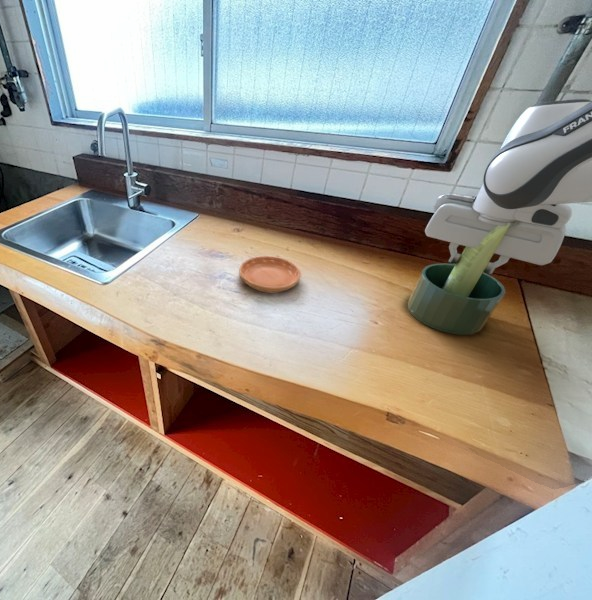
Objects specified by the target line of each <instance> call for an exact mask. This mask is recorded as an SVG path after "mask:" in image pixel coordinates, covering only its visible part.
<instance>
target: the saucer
mask: <svg viewBox="0 0 592 600" xmlns="http://www.w3.org/2000/svg"><path fill="white" fill-rule="evenodd" d="M238 273H239V276H240V278H241V280H242V281H243V282H244V283H245V284H247V285H248V286H249V287H251V288H252V289H254V290H257V291H259V292H264V293H271V294H272V293H273V294H274V293H280V292H285V291H287V290H290V289H291V288H293V287H295V286H296V285H297V284H298V283H299V282H300V280H301V277H302V272H301V270H300V268H299V267H298V266H297V265H296V264H295V263H293V262H292V261H289V260H287V259H285V258H282V257H277V256H270V255H259V256H254V257H250V258H248V259H246V260H244V261H243V262H242V263H241V264H240V266H239V269H238Z"/></svg>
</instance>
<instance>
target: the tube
mask: <svg viewBox="0 0 592 600" xmlns="http://www.w3.org/2000/svg"><path fill="white" fill-rule="evenodd" d="M509 226H510V223H509V222H508V223H507V225H506V226H499V225H498V226H497V227H495V228H494V229H492V230H491V231H490V233H489V234H488V235H487V236H486V237H485V238H484V239H483V240H482V242H481V243H480V244H479V245H478V246H477V247H476V248H471V247H467V246H465V247H464V248H463V251H462V252H461V253H460V254H461V256H460V258H459V260H458V262H457V264H456V265H455V267H454V268H453V270H452V272H451V274H450V275H449V277H448V279H447V281H446V282H445V284H444V286H443V288H442V289H443V290H445V291H447V292H450V293H453V294H456V295H460V296H464V297H468V296H469V295H470V293H471V291H472V290H473V288H474V286H475V285H476V283H477V281H478V280H479V278H480V276H481V275H482V273H483V271H484V269H485V268H486V266H487V264H488V263H489V262H490V261H491V259H492V258H493V256H494V255H495V254H494V251H495V250H496V248H497V247H498V245H499V243H500V242H501V240H502V238H503V236H504V235H505V233H506V231H507V229H508V227H509Z"/></svg>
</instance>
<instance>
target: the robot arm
mask: <svg viewBox="0 0 592 600" xmlns="http://www.w3.org/2000/svg"><path fill="white" fill-rule="evenodd" d="M482 182H483V183H482V184H481V187H480V189H479V191H478V193H477V195H476V196H473V195H467V194H458V193H456V192H448V193H447V194H446V193H445V194H442V195H440V196H438V198H437V199H436V201H435V203H434V205H433V211H434V212H433V213H434V214H433V215H432V216H431V218H430V219H429V221H428V223H427V225H426V226H425V229H424V233H425V236H426V237H429V238H431V239H437V240H440V241H443V242H447V243H449V246H448V250H449V253H450V257H449V259H448V263H449V264H457V262H458V260H459V258H460V256H461V254H462V253H459V252H458V250H457V249H458V247H459V246H463V247H466V246H467V247H471V248H476V247H477V246H478V245H479V244H480V243H481V242H482V240H483V239H484V238H485V237H486V236H487V235H488V234H489V233H490V231H491V230H492V229H494V228H495V227H497V226H498V225H499V226H506V225H507V223H508V222H509V223H510V226H509V227H508V229H507V231H506V233H505V235H504V236H503V238H502V240H501V242H500V243H499V245H498V247H497V248H496V250H495V251H494V254H493V255H499V258H498V260H496V261H494V262H490V261H489V263H488V264H487V266H486V268H485V269H484V271H483V272H484V273H486V274H488V275H492V274H493V273H494V271H495V270H496V268H498V267H501V266H503V265H505V264H506V263H507V264H508V262H509V260H510V259H514V260H519V261H523V262H527V263H530V264H534V265H538V266H545V265H548V264H551V263H552V262H553V260H554V259H555V258H556V256H557V254H558V252H559V250H560V248H561V247H562V244H563V241H564V238H565V235H566V230H567V227H566V224H567V223H568V222H569V221H570V220H571V218H572V214H573V210H572V208H571V207H570V206H569V205H568V204H577V203H592V100H590V99H585V98H576V99H575V98H573V99H566V100H551V101H542V102H538V103H535V104H534V105H531V106H529V107H527V108H526V109H525V110H524V111H523V112H522V113H521V114H520V116H519V117H518V118H517V119H516V121H515V123H514V124H513V125H512V127H511V128H510V129H509V132H508V134H507V136H506V137H505V139H504V141H503V142H502V145H501V147H500V149H499V150H498V152H496V153H495V155H493V157H492V158H491V159H490V161H489V163H488V164H487V166H486V168H485V170H484V175H483V181H482Z"/></svg>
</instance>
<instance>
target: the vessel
mask: <svg viewBox="0 0 592 600" xmlns="http://www.w3.org/2000/svg"><path fill="white" fill-rule="evenodd" d="M455 265H456V264H454V263H445V262H443V263H433V264H429V265H426V266H425V267H424V268H423V269H422V270H421V272H420V274H419V277H418V279H417V281H416V283H415V285H414V288H413V290H412V292H411V294H410V297H409V299H408V301H407V309H408V311H409V312H410V314H411V315H412V316H413V318H415V319H416V320H417V321H419V322H420V323H422V324H423V325H425V326H427V327H429V328H432V329H434V330H437V331H440V332H442V333H447V334H452V335H459V336H467V335H468V336H470V335H474V334H477V333H478V332H480V331H481V330H482V329H483V328H484V327H485V325H486V323H487V322H488V321H489V319H490V317H491V316H492V314H493V313H494V311H495V310H496V308H497V307H498V305H500V303H501V301H502V299H503V298H504V297H505V294H506V289H505V286H504V285H503V283H502V282H500V281H499V280H498V279H496V278H495V277H494V276H492V275H491V274H488V273H485V272H483V273H482V275H481V276H480V278H479V280H478V281H477V283H476V285H475V286H474V288H473V290H472V291H471V293H470V295H469V296H468V297H464V296H460V295H456V294H453V293H450V292H447V291H445V290H443V289H442V288H443V286H444V284H445V282H446V281H447V279H448V277H449V275H450V274H451V272H452V270H453V268H454V267H455Z"/></svg>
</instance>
